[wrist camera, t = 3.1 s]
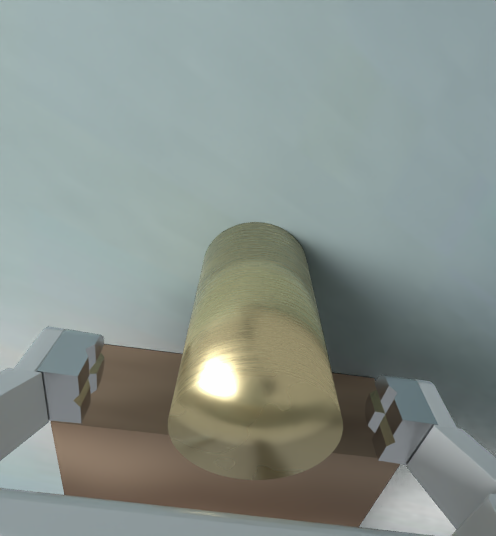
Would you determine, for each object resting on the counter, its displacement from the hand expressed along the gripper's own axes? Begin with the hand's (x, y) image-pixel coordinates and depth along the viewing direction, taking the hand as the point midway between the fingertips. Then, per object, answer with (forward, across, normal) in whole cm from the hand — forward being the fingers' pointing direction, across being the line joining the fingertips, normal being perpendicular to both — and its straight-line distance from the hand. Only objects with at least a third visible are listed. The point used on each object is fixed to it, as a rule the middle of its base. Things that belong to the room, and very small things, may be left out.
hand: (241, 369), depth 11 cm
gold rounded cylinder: (+4, 0, -1) cm, 5 cm away
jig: (+5, 0, +14) cm, 15 cm away
